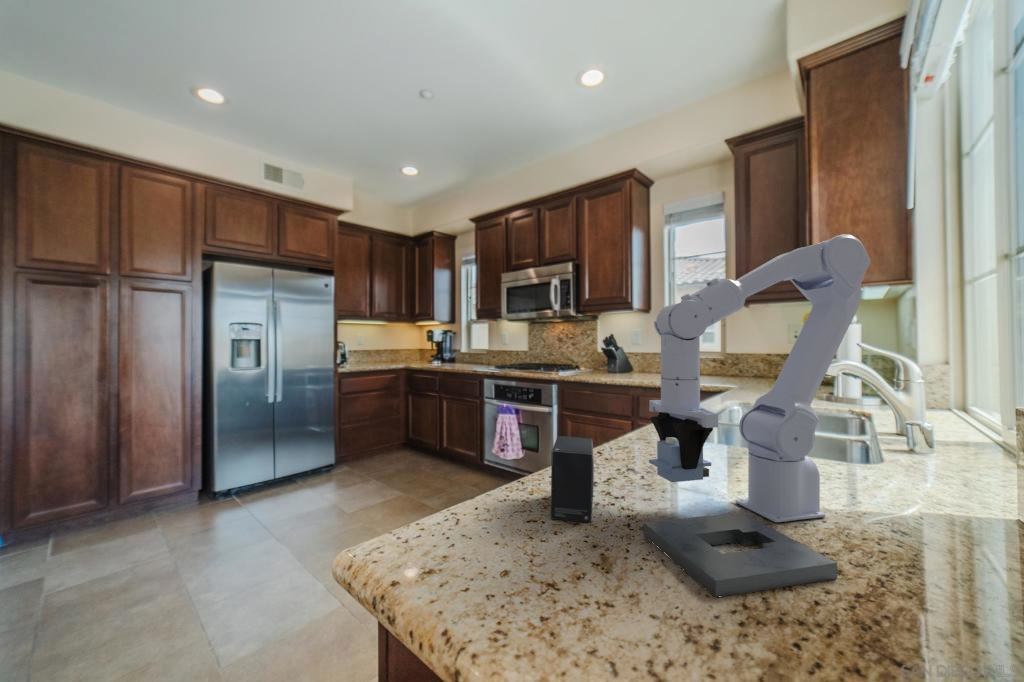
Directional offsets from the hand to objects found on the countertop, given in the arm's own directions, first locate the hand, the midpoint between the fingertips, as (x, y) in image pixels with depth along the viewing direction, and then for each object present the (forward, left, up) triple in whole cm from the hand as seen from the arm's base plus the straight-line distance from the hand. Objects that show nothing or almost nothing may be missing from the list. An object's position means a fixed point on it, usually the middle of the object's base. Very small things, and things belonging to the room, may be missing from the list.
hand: (680, 464), depth 64 cm
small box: (+16, -5, -8) cm, 18 cm away
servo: (0, 0, -2) cm, 2 cm away
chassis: (+2, +13, -8) cm, 15 cm away
